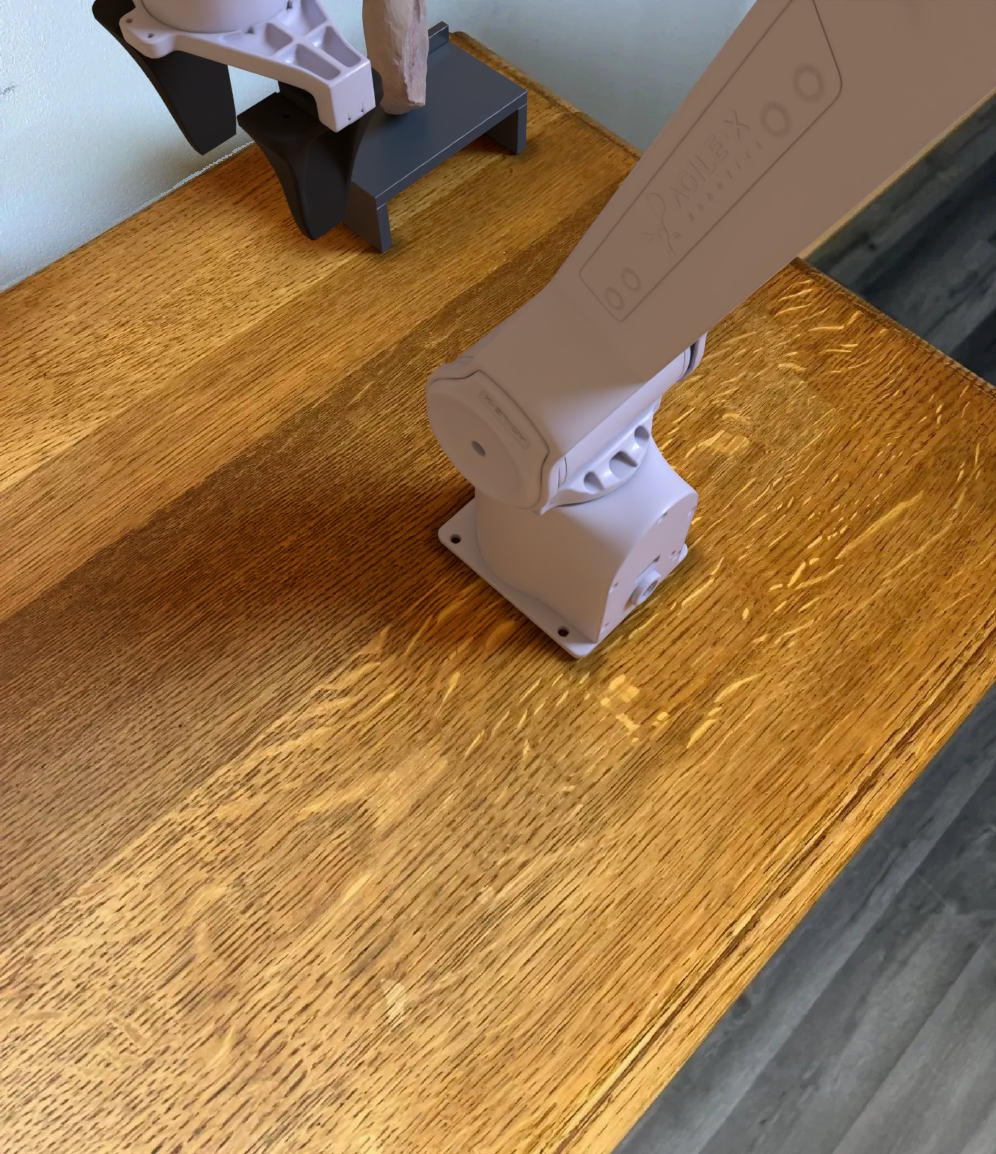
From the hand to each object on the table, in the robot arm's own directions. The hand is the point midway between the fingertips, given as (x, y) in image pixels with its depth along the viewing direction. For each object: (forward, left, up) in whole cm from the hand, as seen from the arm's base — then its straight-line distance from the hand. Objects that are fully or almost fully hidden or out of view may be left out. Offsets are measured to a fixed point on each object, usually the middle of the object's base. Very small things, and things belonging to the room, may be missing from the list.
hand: (268, 182), depth 45 cm
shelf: (+5, -13, -10) cm, 17 cm away
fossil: (+5, -13, -7) cm, 15 cm away
